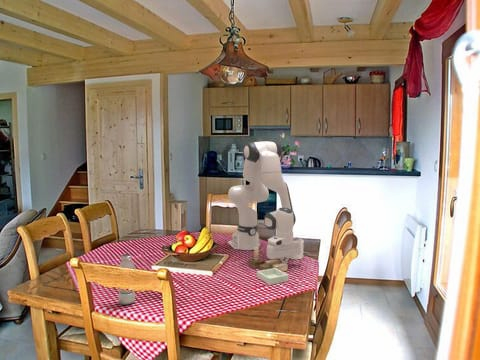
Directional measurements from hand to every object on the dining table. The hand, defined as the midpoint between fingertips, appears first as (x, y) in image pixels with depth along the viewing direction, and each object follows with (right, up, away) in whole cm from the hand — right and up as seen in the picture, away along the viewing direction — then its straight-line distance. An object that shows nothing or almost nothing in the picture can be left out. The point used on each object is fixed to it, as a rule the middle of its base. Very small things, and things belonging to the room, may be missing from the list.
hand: (283, 264), depth 200 cm
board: (-4, -2, -3) cm, 6 cm away
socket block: (-15, -1, 0) cm, 15 cm away
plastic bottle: (-69, -6, -46) cm, 83 cm away
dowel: (-15, -1, 0) cm, 15 cm away
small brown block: (-10, -2, -5) cm, 12 cm away
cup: (+8, 0, +20) cm, 21 cm away
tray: (-7, -3, -16) cm, 18 cm away
